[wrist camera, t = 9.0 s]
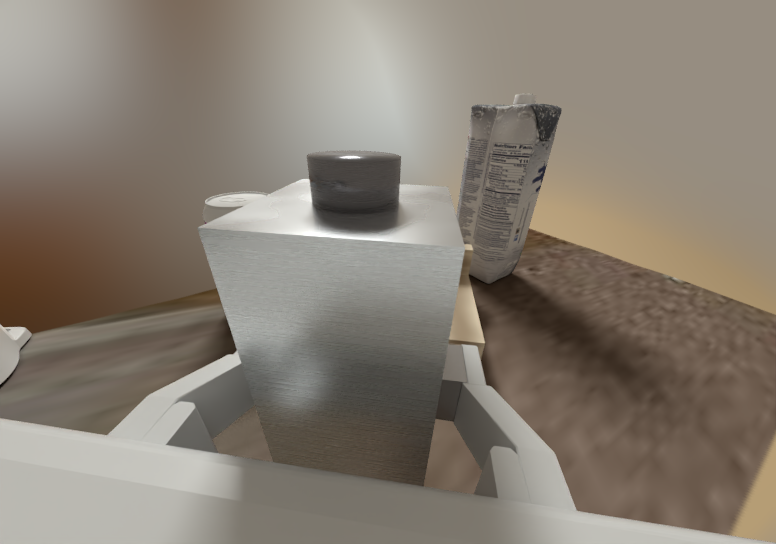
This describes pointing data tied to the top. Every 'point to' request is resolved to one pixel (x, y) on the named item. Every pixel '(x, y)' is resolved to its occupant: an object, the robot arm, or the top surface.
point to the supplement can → (228, 203)
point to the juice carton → (503, 181)
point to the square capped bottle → (343, 312)
